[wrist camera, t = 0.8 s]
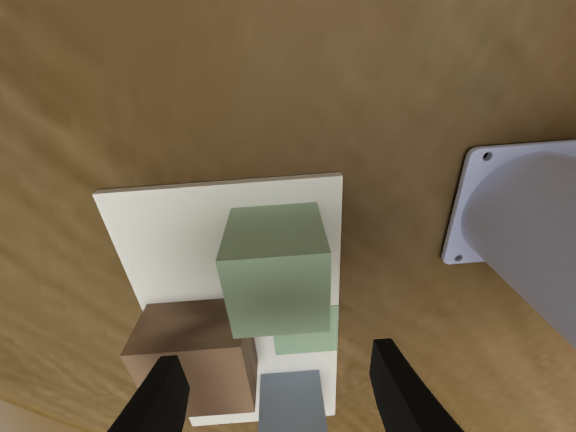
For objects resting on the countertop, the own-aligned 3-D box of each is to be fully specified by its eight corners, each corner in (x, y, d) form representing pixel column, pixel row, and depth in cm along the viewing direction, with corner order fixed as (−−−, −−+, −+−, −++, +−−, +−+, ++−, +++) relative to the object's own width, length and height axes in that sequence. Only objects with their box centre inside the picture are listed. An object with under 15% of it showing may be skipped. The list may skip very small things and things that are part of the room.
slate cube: (318, 369, 24) (328, 437, 20) (319, 402, 27) (328, 469, 22) (260, 374, 24) (257, 443, 20) (266, 406, 27) (264, 474, 22)
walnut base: (246, 296, 20) (240, 346, 17) (258, 359, 23) (255, 412, 20) (147, 303, 20) (120, 356, 17) (172, 365, 23) (154, 420, 20)
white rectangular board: (340, 171, 16) (343, 176, 16) (333, 408, 29) (335, 416, 28) (97, 189, 16) (90, 195, 16) (194, 419, 29) (192, 427, 28)
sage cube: (316, 201, 17) (331, 252, 12) (317, 268, 19) (330, 331, 15) (230, 208, 17) (215, 261, 12) (242, 274, 19) (233, 338, 15)
